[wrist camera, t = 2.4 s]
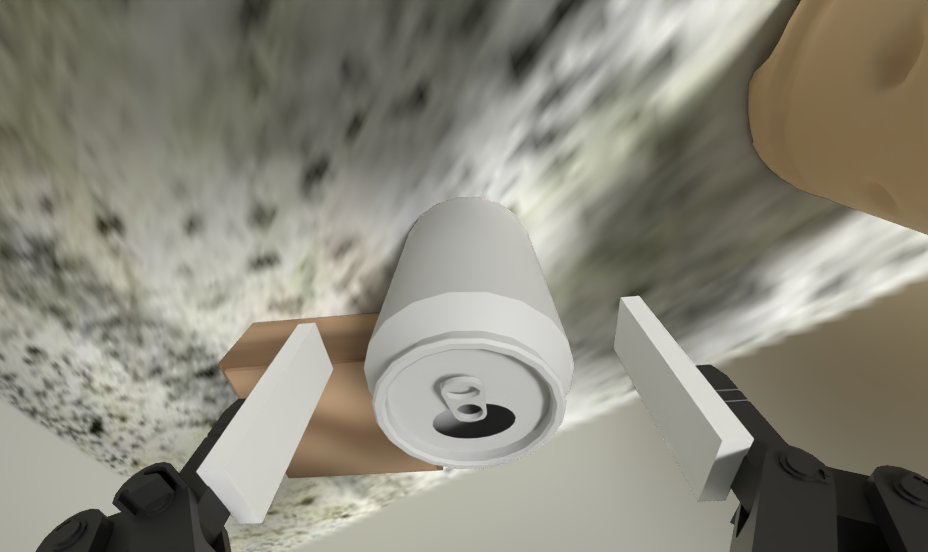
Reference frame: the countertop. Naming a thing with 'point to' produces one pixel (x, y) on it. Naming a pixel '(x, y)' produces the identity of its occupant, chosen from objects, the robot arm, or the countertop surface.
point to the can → (469, 342)
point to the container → (849, 106)
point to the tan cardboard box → (327, 399)
